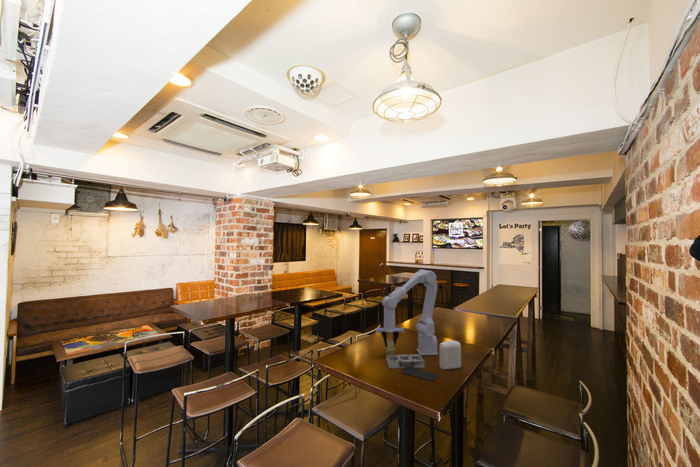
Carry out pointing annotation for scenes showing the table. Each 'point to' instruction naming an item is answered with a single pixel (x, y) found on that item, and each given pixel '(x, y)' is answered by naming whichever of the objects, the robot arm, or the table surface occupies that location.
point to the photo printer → (450, 354)
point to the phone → (420, 373)
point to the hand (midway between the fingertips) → (390, 346)
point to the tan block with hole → (390, 347)
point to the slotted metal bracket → (404, 361)
